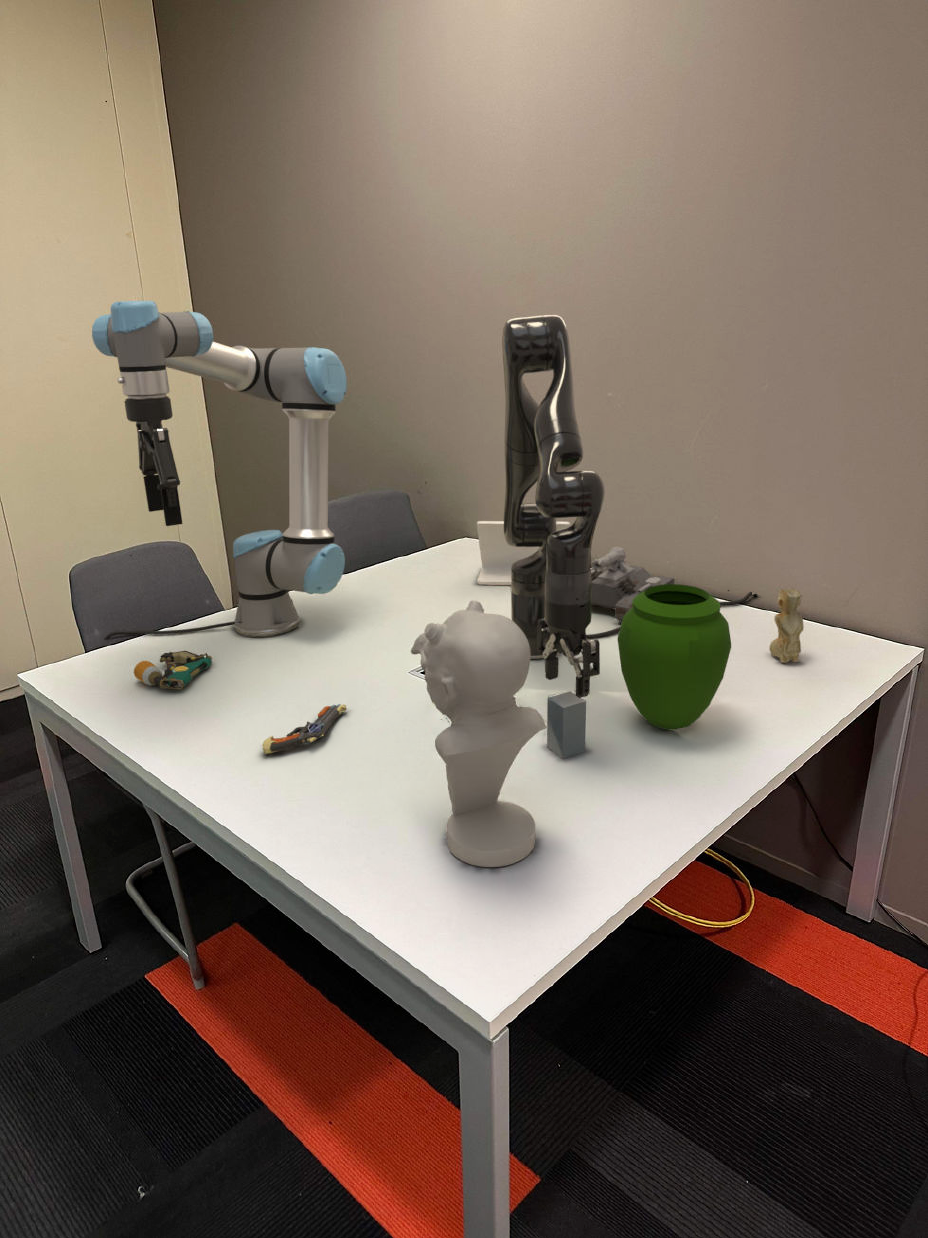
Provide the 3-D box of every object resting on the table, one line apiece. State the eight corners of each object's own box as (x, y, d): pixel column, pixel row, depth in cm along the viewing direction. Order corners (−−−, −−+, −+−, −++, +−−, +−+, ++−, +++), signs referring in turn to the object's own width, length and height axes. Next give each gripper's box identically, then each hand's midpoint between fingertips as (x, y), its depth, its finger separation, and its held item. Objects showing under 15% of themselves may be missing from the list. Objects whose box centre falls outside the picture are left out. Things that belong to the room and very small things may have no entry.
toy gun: (257, 744, 147) (311, 741, 145) (297, 702, 165) (346, 699, 162) (260, 758, 147) (314, 756, 145) (300, 715, 165) (349, 712, 163)
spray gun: (177, 659, 191) (231, 671, 185) (120, 684, 176) (176, 698, 171) (176, 641, 190) (230, 653, 184) (118, 665, 175) (174, 678, 169)
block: (569, 740, 150) (570, 690, 147) (585, 751, 146) (586, 701, 143) (546, 747, 148) (547, 697, 145) (562, 759, 144) (563, 708, 141)
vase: (737, 711, 158) (749, 586, 150) (704, 757, 143) (715, 621, 134) (638, 689, 168) (643, 571, 160) (597, 730, 153) (601, 602, 144)
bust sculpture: (481, 772, 140) (476, 569, 128) (565, 848, 120) (569, 617, 108) (392, 800, 134) (378, 588, 121) (465, 886, 114) (457, 642, 101)
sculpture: (791, 651, 184) (798, 585, 178) (805, 664, 177) (813, 596, 172) (764, 652, 183) (771, 586, 178) (777, 666, 177) (784, 597, 171)
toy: (603, 584, 229) (605, 530, 224) (673, 597, 218) (677, 540, 213) (555, 612, 210) (556, 553, 205) (630, 627, 199) (633, 566, 194)
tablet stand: (569, 585, 229) (570, 524, 223) (476, 584, 232) (475, 523, 226) (570, 566, 246) (571, 508, 240) (484, 564, 249) (483, 507, 243)
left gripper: (110, 392, 155) (129, 507, 162) (139, 404, 135) (159, 534, 142) (153, 389, 158) (169, 502, 166) (187, 400, 138) (204, 527, 146)
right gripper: (524, 588, 141) (524, 677, 147) (575, 612, 130) (574, 708, 135) (561, 580, 145) (560, 668, 150) (614, 603, 133) (611, 697, 139)
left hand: (165, 517), depth 154 cm, fingers open, 13 cm apart
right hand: (566, 687), depth 143 cm, fingers open, 8 cm apart
